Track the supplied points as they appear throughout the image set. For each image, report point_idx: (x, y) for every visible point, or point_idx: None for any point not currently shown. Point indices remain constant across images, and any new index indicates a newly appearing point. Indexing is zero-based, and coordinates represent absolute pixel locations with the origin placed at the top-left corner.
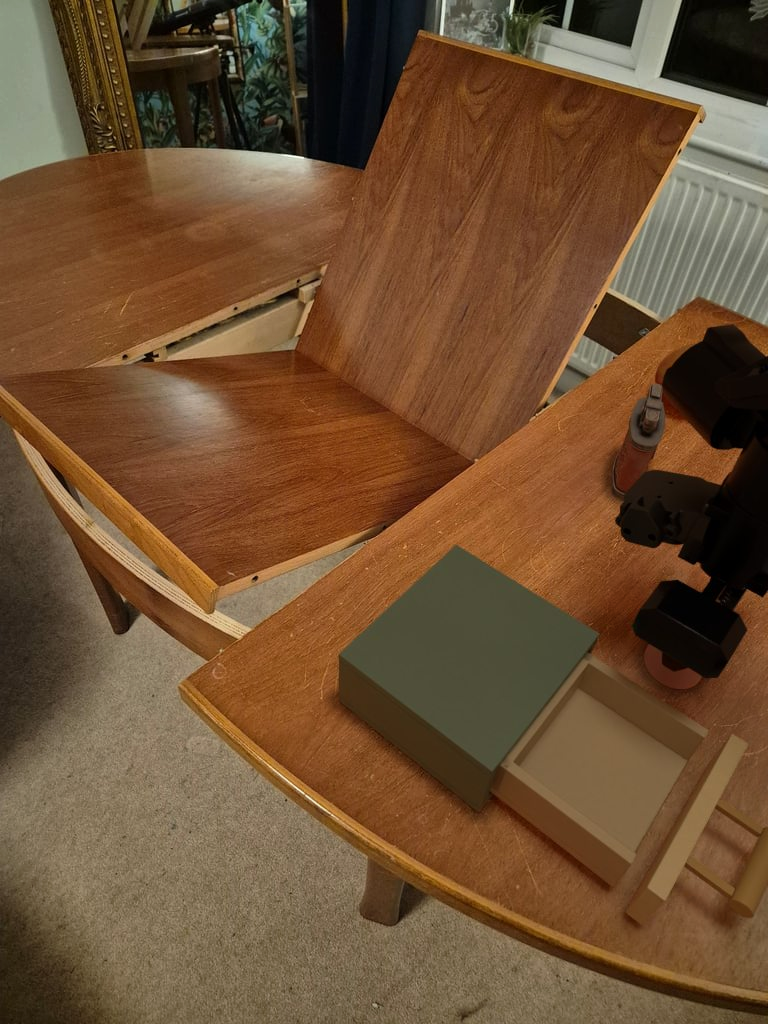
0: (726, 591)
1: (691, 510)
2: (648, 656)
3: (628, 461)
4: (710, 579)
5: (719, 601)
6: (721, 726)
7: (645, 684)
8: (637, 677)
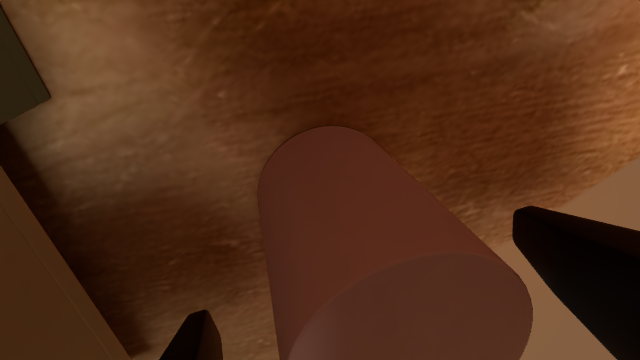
0: (588, 299)
1: None
2: (273, 171)
3: None
4: (612, 253)
5: (524, 343)
6: None
7: (226, 197)
8: (223, 174)
